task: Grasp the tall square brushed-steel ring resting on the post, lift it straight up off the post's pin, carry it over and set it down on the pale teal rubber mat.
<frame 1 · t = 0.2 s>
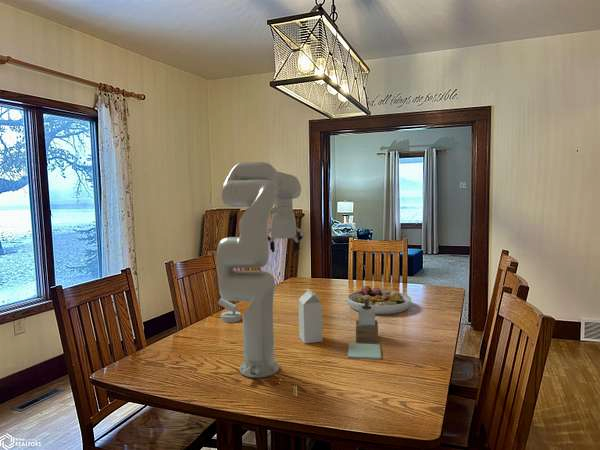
hand: (284, 251, 175), 31 cm above the table, tool pointing down, fingers open, 9 cm apart
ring: (366, 323, 159), point 6 cm above the table, touching post
post: (366, 338, 159), on the table
milk carton: (310, 340, 159), on the table
mat: (364, 351, 147), on the table
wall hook: (229, 319, 187), on the table
bowl: (378, 307, 202), on the table
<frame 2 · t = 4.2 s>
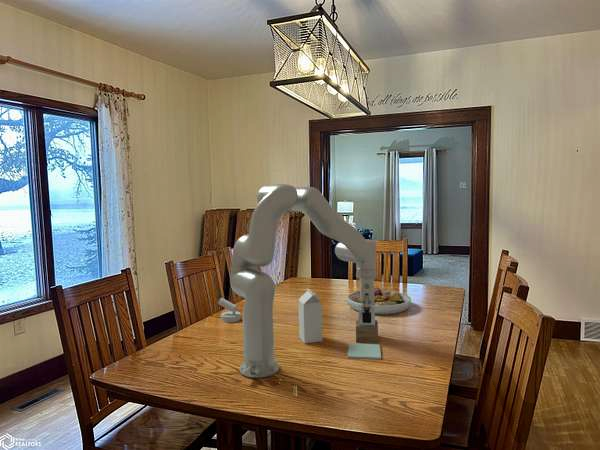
hand: (366, 319, 159), 7 cm above the table, tool pointing down, fingers closed on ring, 6 cm apart
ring: (366, 323, 159), point 6 cm above the table, touching gripper, post
everything else where it was.
when the fingers open (3 cm above the table, at t = 11.9 s): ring drops 1 cm, resting on mat.
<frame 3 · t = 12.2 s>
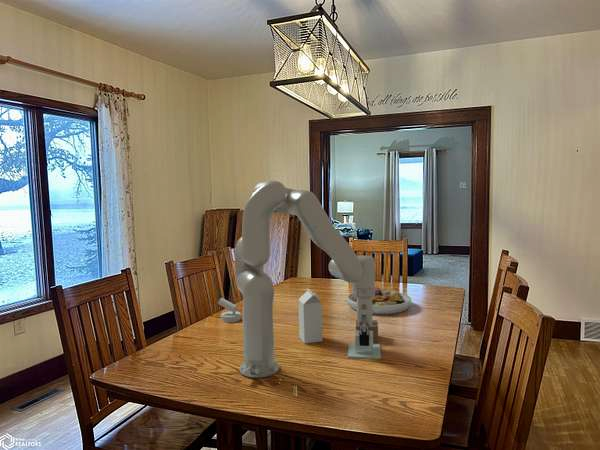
hand: (364, 340, 146), 4 cm above the table, tool pointing down, fingers open, 9 cm apart
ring: (364, 350, 146), point 1 cm above the table, touching mat
everything else where it was.
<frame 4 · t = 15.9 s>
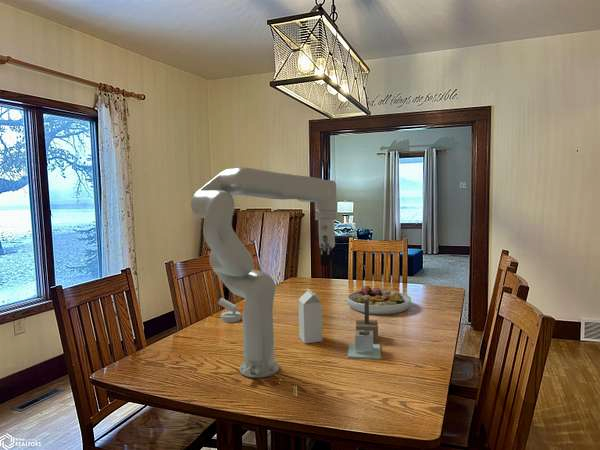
hand: (326, 263, 150), 30 cm above the table, tool pointing down, fingers open, 9 cm apart
nothing on the table moved.
at the end: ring inside the target area on the mat (0.1 cm from its centre), point 0.6 cm above the mat's base; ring touching mat; the gripper is holding nothing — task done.
